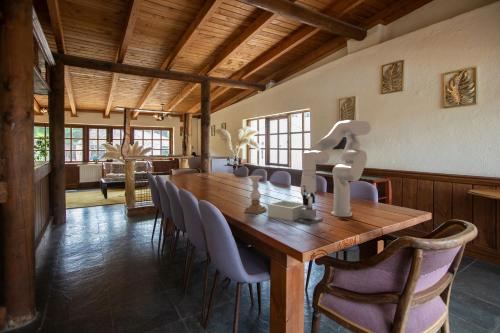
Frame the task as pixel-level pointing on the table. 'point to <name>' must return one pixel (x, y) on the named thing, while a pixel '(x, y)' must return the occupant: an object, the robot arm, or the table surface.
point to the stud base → (308, 220)
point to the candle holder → (255, 197)
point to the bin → (285, 210)
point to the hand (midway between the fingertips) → (308, 203)
